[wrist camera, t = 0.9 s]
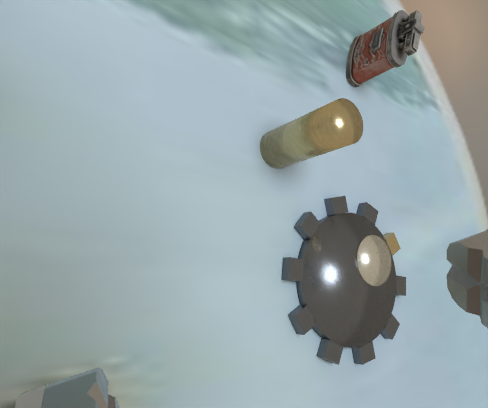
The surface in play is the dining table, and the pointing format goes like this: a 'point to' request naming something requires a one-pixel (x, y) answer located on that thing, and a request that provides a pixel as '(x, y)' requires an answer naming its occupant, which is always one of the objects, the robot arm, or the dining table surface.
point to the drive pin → (313, 134)
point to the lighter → (383, 47)
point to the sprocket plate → (345, 280)
